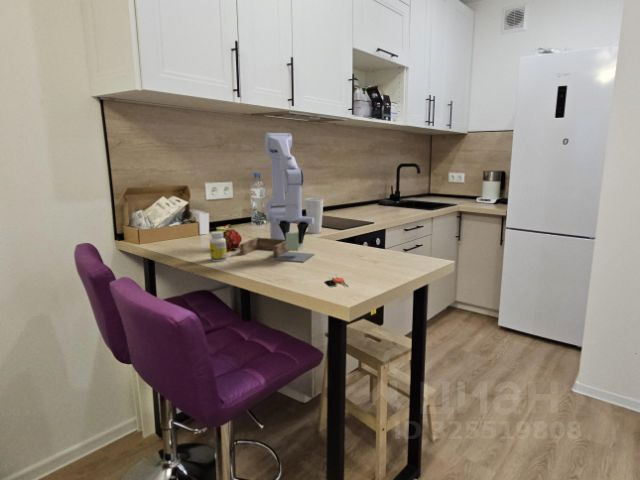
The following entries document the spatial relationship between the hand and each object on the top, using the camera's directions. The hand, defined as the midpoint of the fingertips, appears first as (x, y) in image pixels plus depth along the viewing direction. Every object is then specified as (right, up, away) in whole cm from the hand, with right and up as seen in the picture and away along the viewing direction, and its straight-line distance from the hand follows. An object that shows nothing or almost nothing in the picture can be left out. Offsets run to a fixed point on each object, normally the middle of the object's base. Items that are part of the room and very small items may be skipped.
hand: (294, 242), depth 146 cm
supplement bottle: (-26, -6, -1) cm, 27 cm away
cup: (+7, +4, +47) cm, 47 cm away
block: (0, -2, +1) cm, 2 cm away
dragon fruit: (-26, -3, +15) cm, 30 cm away
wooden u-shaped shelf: (-11, -4, +9) cm, 14 cm away
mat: (0, -5, +1) cm, 5 cm away
